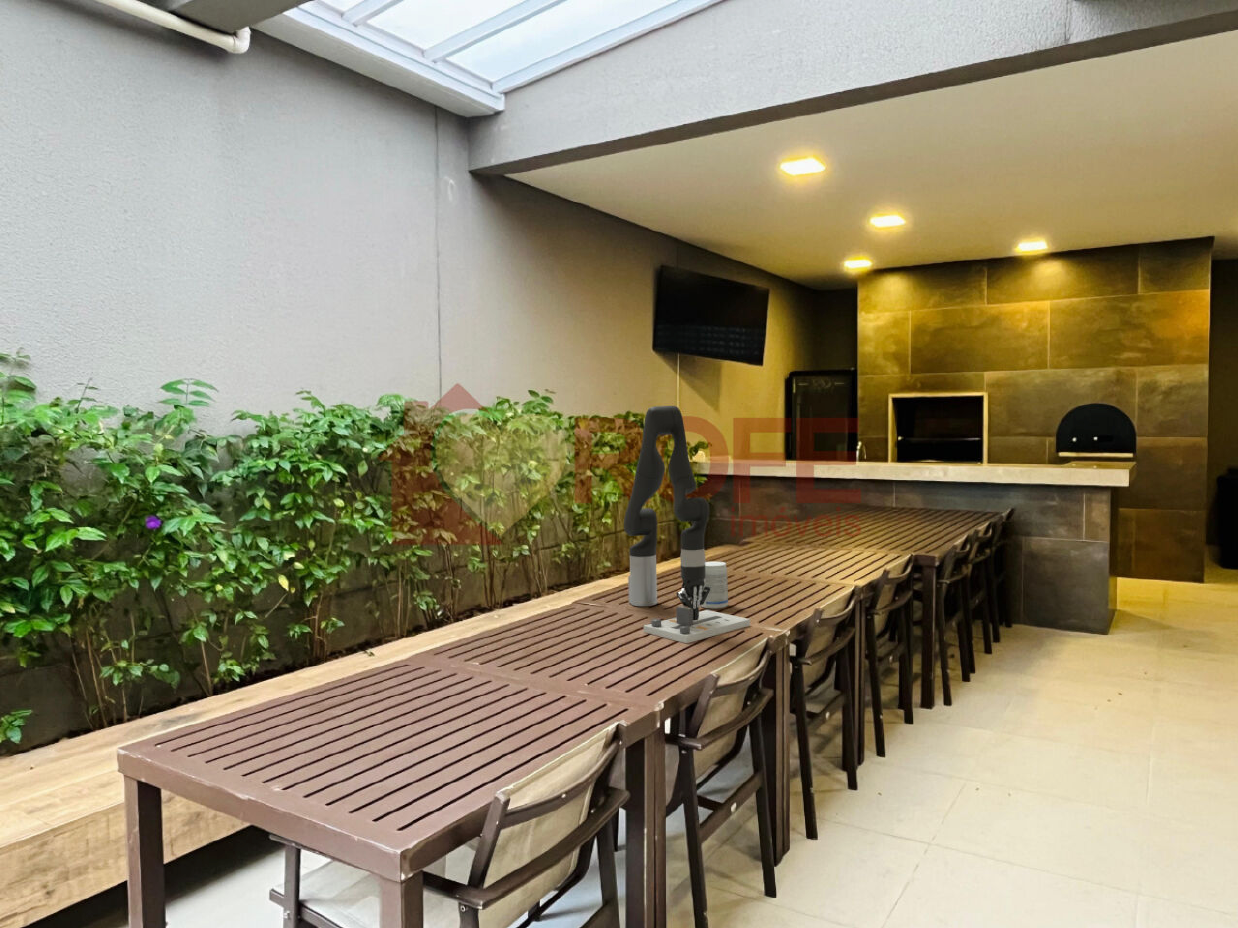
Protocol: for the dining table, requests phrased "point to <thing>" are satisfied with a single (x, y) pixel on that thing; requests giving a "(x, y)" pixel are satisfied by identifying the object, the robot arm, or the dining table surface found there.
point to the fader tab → (684, 615)
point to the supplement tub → (716, 585)
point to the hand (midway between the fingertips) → (694, 619)
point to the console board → (696, 626)
